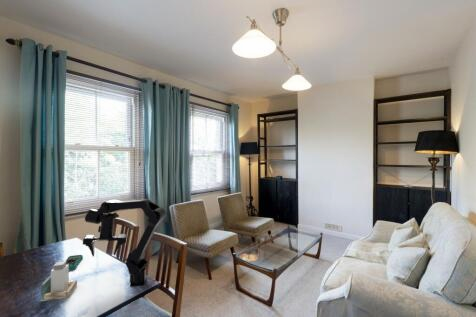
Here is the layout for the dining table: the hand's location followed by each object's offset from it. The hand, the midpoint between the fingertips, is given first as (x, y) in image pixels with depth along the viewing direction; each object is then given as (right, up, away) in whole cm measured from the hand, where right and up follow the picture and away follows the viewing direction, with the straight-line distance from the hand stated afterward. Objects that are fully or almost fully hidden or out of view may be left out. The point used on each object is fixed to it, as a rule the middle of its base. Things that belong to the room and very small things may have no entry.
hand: (104, 255), depth 117 cm
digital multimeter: (-27, -12, +15) cm, 33 cm away
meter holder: (-14, -12, -11) cm, 22 cm away
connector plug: (-14, -12, -11) cm, 21 cm away
